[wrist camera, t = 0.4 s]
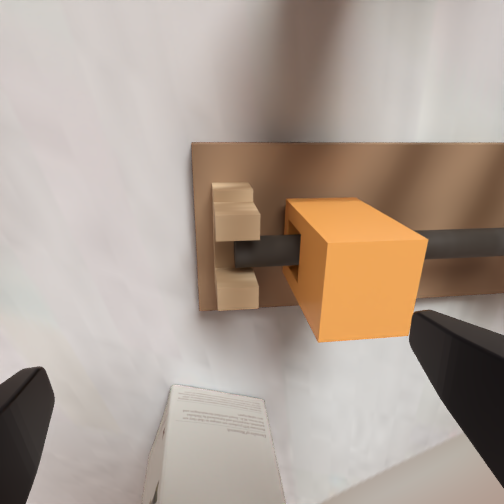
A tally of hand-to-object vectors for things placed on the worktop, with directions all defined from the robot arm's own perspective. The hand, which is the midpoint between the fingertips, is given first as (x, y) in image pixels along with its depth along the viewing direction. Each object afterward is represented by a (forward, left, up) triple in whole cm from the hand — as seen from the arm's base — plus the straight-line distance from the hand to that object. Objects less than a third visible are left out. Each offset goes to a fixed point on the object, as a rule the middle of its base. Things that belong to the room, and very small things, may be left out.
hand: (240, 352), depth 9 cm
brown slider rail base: (-11, +1, -14) cm, 17 cm away
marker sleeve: (-6, +1, -12) cm, 13 cm away
